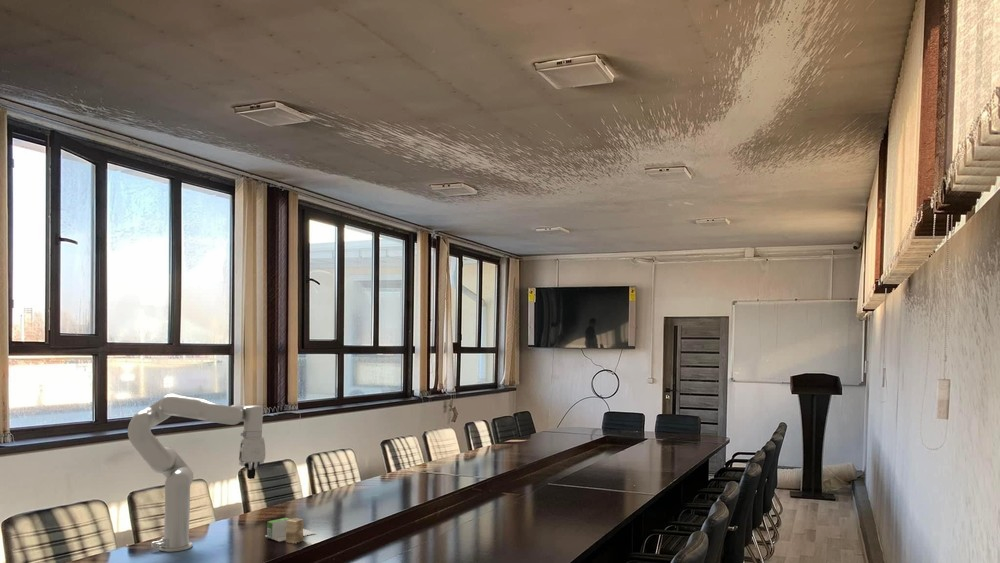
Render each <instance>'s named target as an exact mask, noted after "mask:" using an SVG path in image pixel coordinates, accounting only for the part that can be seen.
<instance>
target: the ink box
mask: <svg viewBox="0 0 1000 563" xmlns="http://www.w3.org/2000/svg"><path fill="white" fill-rule="evenodd" d="M290 519H291V518H288V517H284V518H283V517H282V518H279V519H273V520H268V521H267V524H266V526H267V528H266V535H267V537H266V538H267V539H271V540H273V539H275V538H279V537H283V536H286V520H290Z"/></svg>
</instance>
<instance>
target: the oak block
mask: <svg viewBox="0 0 1000 563" xmlns="http://www.w3.org/2000/svg"><path fill="white" fill-rule="evenodd" d="M289 519H290V520H286V540H285V542H286V543H289V544H294V543H295V544H298V543H300V541H301V542H304V537H303V529H304V519H302V518H299V517H294V518H289ZM297 542H298V543H297Z"/></svg>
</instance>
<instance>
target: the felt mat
mask: <svg viewBox="0 0 1000 563" xmlns="http://www.w3.org/2000/svg"><path fill="white" fill-rule="evenodd" d="M315 533H316V532H314V531H311V530H308V529H306V528H303V536H304V537H308V536H307V535H309V536H312V535H311V534H314V535H316V534H315ZM264 537H266V538H267V534H266V535H264ZM272 540H274V541H277V542H278V543H280V542H284V541H285V542H286V536H283V537H279V538H275V539H272Z"/></svg>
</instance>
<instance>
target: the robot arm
mask: <svg viewBox="0 0 1000 563" xmlns="http://www.w3.org/2000/svg"><path fill="white" fill-rule="evenodd" d="M263 414H264V409H263V406H262V405H258V404H256V405H254V404H253V405H242V404H231V405H225V404H224V405H223V404H218V403H213V402H211V401H208V400H206V399H204V398H200V397H199V398H198V397H191V396H184V395H180V394H178V393H176V392H175V393H174V392H173V393H172V392H171V393H168V394H165V395H164V396H163V397H162V398H161V399H159V400H158V401H156V402H154V403H153V404H151V405H149V406H147V407H146V408H144V409H141V410H139V411H138V412H136V413H135V414H134V415H133V416H132V418H131V419H130V422H129V424H128V426H127V436H128V439H129V442H130V444H132V446H133V448H134V449H135V450H136V451H137V453H138V454H139V455H140V456H141V457H142V458H143V460H144V461H145V463H147V464H148V466H149V467H150V469H151V470H152V471H154V472H155V473H158V474H162V475H163V476H164V477H165V482H164V520H163V521H164V526H163V536H162V537H160V538H161V539H159V540H155V541H151V543H150V546H151V548H154V547H157V548H158V549H159V551H161V552H167V553H169V552H181V551H185V550H189V549H191V548H192V547H193V542H192V541H189V540H190V538H189V537H190V516H191V514H190V511H191V484H192V483H193V481H194V473H193V471H192V469H191V467H189V466H188V464H187V463H186V462H185V461H184V460H183V459H182V457H181V456H180V455H179V453H178V452H176V450H174V449H173V448H171V447H168V446H167V447H166V446H164V445H163V444H162V443H161V442H160V441H159V439H158V438H157V437H156V436H155V435H154V434H153V433H152V429H153V428H154V427H156V426H157V425H159V424H161V423H162V422H164V421H165V420H168V419H169V418H171V417H172V416H173V417H180V418H186V419H187V418H188V419H194V420H198V421H199V420H200V421H206V422H211V423H217V424H222V425H224V424H225V425H232V426H233V425H237V424H239V423H241V422H243V430H242V432H241V433H240V437H241V441H240V445H239V451H238V452H239V453H238V461H239V463H238V465H239V466H243V467H244V468H246V477H247V479H250V480H253V479H254V480H255V479H256V470H257V468H258V466H259V465H261V464H264V462H265V460H266V443H265V437H263V418H264V417H263ZM242 437H243V438H242Z"/></svg>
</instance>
